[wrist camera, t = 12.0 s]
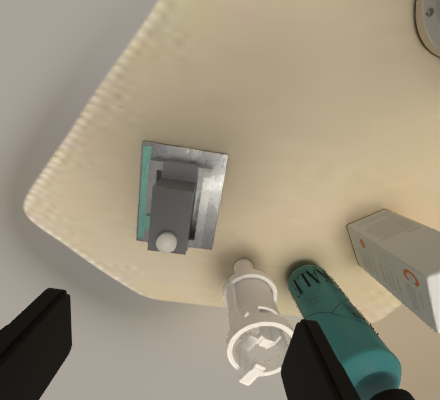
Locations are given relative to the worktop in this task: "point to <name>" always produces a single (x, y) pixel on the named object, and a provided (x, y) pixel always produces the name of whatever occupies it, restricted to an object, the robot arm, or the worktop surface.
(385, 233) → the small box
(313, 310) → the beverage bottle
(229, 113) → the worktop surface
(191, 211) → the lever
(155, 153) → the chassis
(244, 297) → the clear white hollow cylinder
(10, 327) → the robot arm
